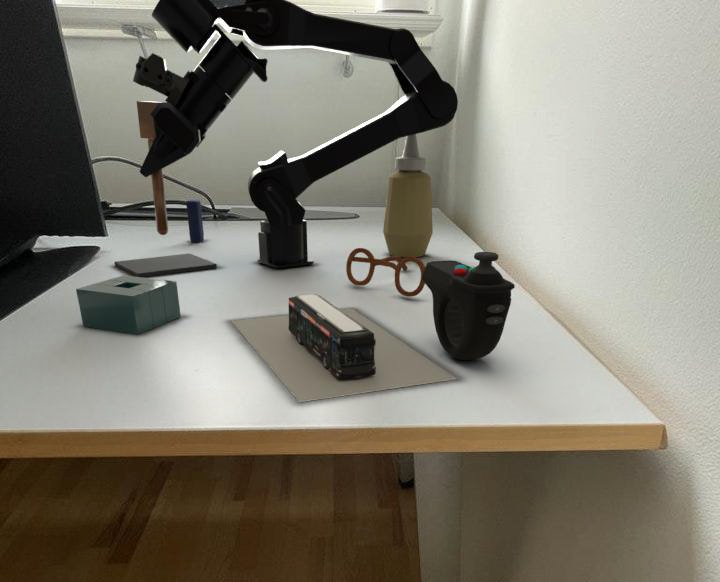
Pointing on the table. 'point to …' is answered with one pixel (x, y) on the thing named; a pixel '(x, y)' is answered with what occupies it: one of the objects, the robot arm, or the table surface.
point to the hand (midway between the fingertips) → (143, 174)
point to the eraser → (195, 220)
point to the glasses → (384, 262)
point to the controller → (468, 305)
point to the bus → (334, 351)
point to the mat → (164, 265)
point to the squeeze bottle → (408, 205)
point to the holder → (129, 304)
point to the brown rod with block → (157, 177)
